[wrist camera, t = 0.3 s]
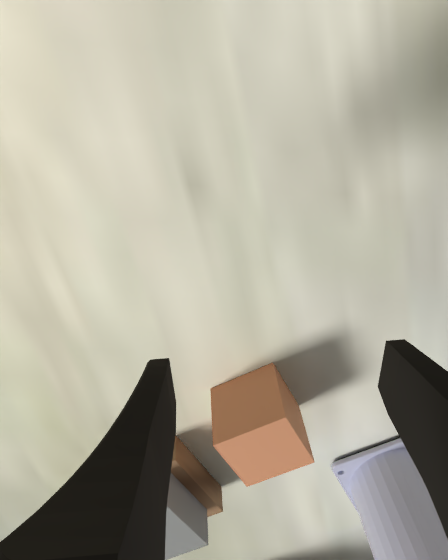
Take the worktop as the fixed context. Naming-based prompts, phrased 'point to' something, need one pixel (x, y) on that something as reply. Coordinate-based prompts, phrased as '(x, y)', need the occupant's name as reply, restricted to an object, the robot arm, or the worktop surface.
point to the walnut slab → (196, 478)
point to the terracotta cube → (259, 426)
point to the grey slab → (184, 521)
